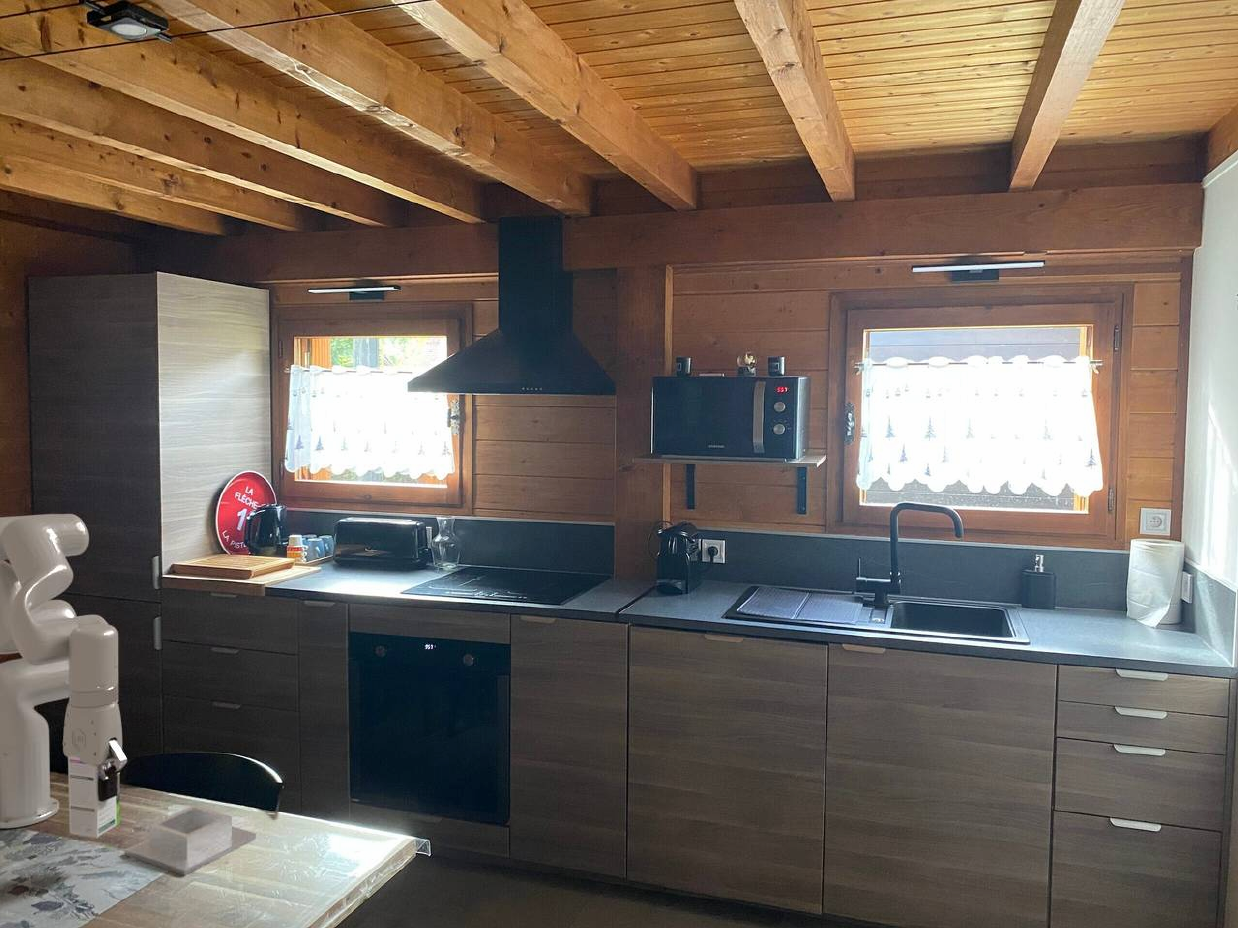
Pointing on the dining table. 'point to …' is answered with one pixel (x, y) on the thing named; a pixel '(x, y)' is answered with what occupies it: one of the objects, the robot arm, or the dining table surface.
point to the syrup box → (90, 801)
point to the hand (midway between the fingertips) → (94, 792)
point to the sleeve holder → (189, 840)
